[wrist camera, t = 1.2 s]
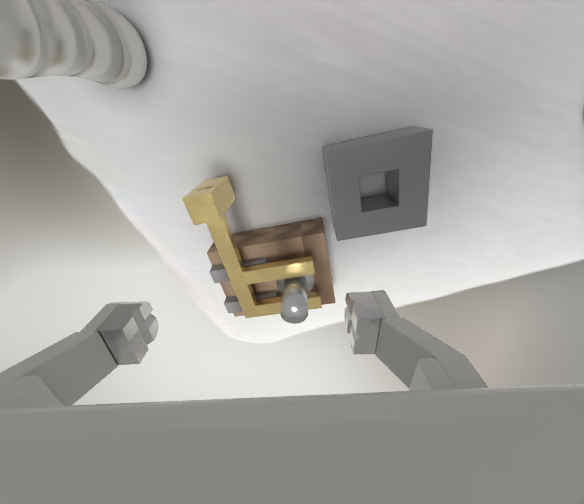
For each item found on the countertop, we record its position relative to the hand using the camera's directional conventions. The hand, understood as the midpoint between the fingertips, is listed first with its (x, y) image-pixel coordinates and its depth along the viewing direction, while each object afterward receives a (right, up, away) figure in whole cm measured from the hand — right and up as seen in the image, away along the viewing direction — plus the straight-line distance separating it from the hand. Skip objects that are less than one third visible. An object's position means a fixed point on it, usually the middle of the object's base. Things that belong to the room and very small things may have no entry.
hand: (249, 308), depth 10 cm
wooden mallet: (-2, +4, +25) cm, 25 cm away
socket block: (-1, +1, +29) cm, 29 cm away
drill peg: (+2, +1, +29) cm, 29 cm away
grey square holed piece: (+12, +12, +23) cm, 28 cm away
